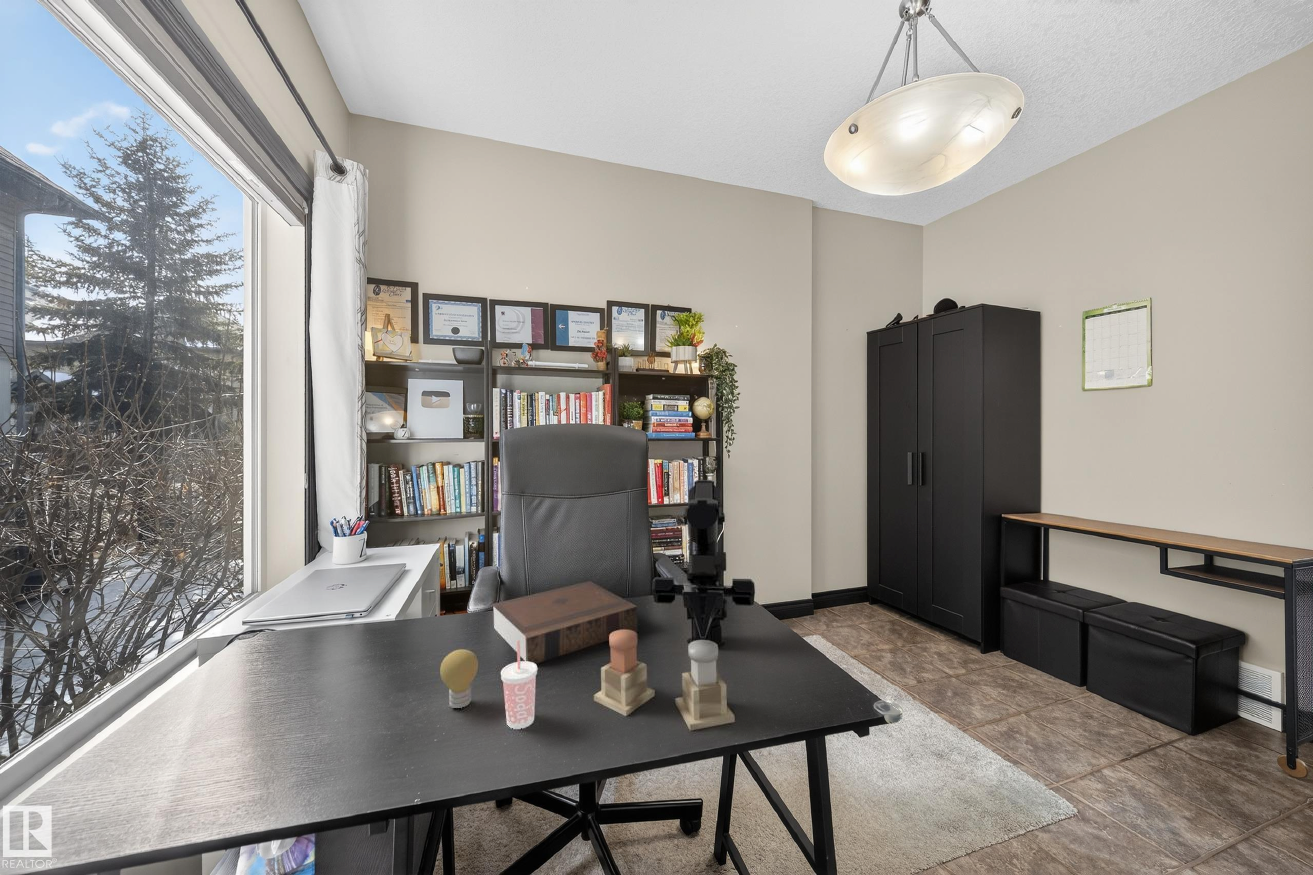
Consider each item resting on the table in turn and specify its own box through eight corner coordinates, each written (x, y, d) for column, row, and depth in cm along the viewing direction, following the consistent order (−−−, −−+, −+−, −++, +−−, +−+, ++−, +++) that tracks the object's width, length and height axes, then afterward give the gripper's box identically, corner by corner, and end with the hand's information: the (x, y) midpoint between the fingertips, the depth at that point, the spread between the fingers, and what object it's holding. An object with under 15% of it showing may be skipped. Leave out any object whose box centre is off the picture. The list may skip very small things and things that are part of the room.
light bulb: (486, 698, 91) (484, 646, 90) (462, 718, 84) (460, 662, 84) (458, 692, 93) (457, 641, 92) (433, 711, 87) (431, 657, 86)
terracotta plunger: (623, 659, 93) (622, 627, 93) (643, 667, 90) (642, 634, 90) (604, 670, 89) (603, 636, 89) (624, 679, 86) (624, 644, 86)
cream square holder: (623, 681, 96) (622, 651, 95) (654, 695, 91) (654, 664, 90) (593, 700, 89) (593, 668, 89) (626, 716, 84) (625, 682, 84)
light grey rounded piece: (684, 676, 87) (684, 642, 86) (711, 672, 88) (711, 638, 88) (694, 692, 82) (694, 655, 81) (723, 687, 83) (722, 651, 83)
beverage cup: (499, 734, 80) (496, 651, 80) (504, 712, 86) (502, 635, 86) (537, 729, 81) (534, 647, 81) (540, 708, 87) (538, 632, 87)
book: (637, 632, 119) (636, 606, 119) (528, 668, 103) (527, 638, 102) (590, 603, 139) (589, 581, 139) (492, 629, 122) (491, 604, 122)
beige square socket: (675, 703, 88) (675, 671, 88) (716, 696, 90) (716, 664, 90) (690, 730, 80) (689, 695, 80) (734, 721, 82) (734, 687, 82)
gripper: (652, 534, 90) (645, 616, 80) (753, 535, 88) (760, 620, 77) (657, 564, 98) (651, 642, 88) (750, 565, 96) (756, 645, 86)
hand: (702, 637), depth 84 cm, fingers closed
